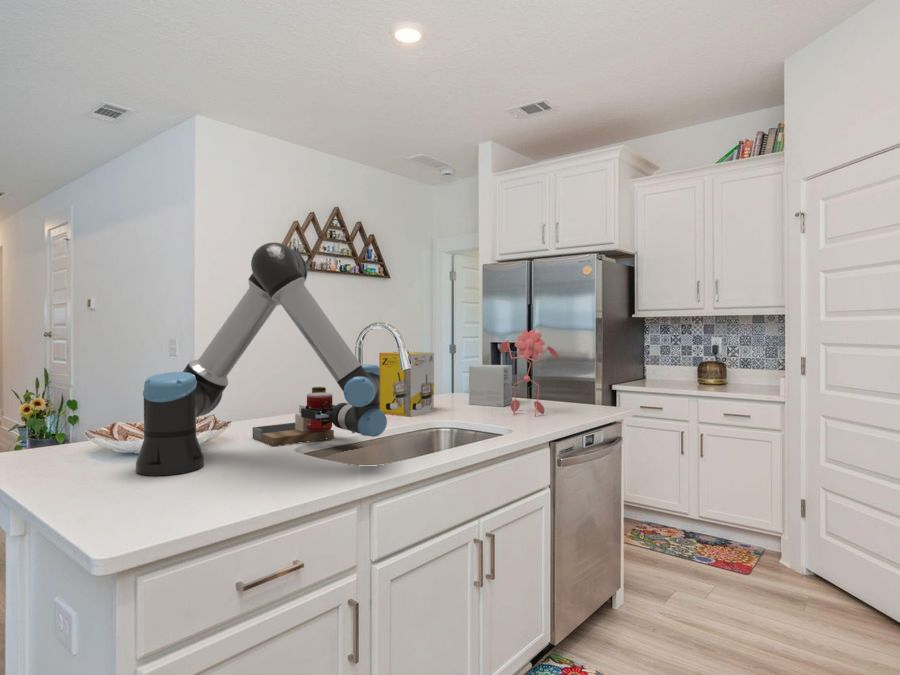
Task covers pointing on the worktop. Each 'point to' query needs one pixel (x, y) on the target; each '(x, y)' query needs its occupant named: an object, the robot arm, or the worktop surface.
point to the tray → (271, 429)
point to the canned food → (319, 403)
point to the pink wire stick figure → (528, 347)
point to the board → (294, 436)
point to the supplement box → (490, 385)
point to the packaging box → (406, 384)
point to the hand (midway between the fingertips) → (312, 407)
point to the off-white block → (300, 423)
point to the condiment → (318, 390)
